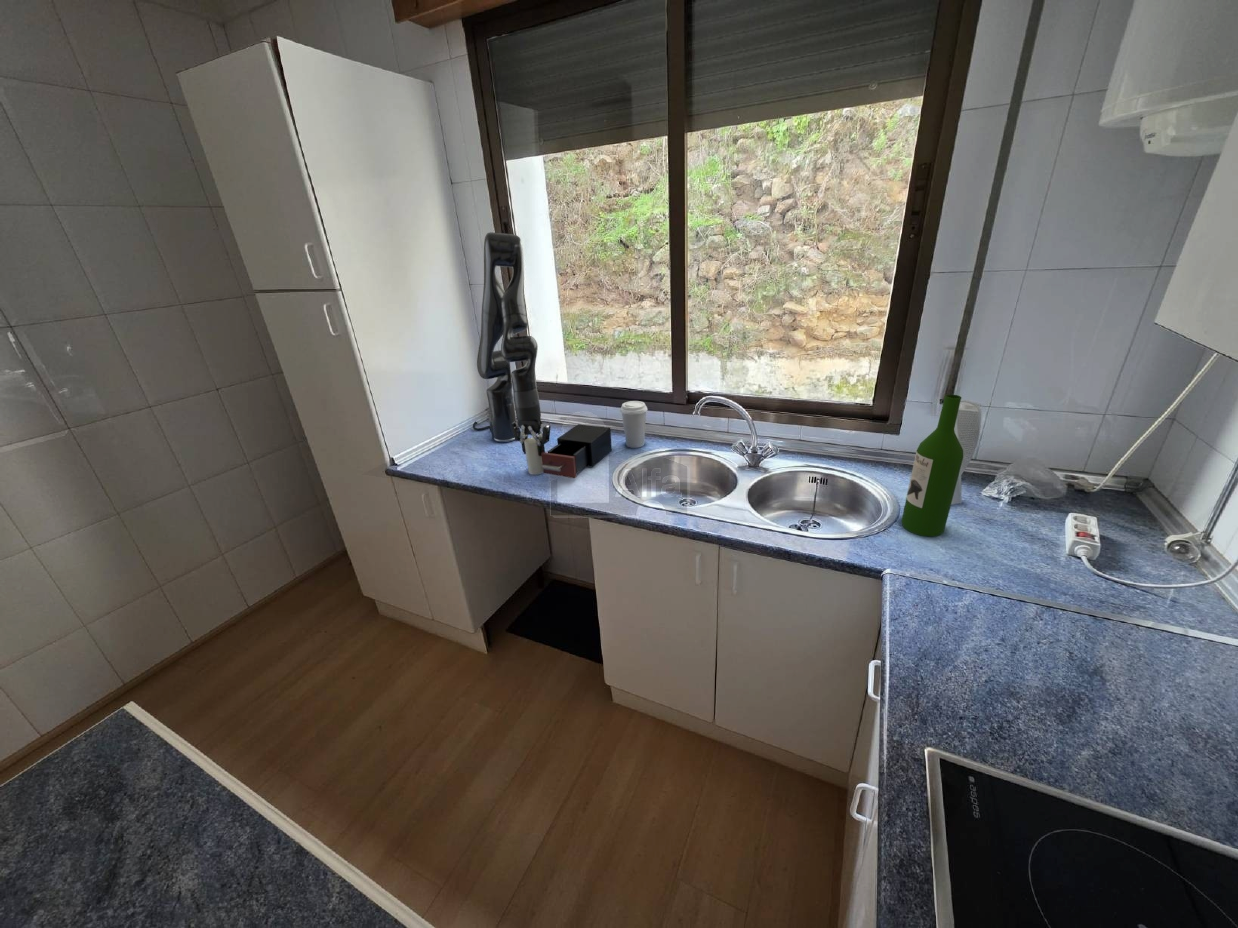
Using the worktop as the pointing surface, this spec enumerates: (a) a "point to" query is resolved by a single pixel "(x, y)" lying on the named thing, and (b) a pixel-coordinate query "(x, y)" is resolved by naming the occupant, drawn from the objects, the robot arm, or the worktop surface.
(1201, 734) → the worktop surface
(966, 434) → the light grey vase
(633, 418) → the coffee cup
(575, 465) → the drawer
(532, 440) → the container
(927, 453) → the wine bottle
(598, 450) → the black sliding tray box
